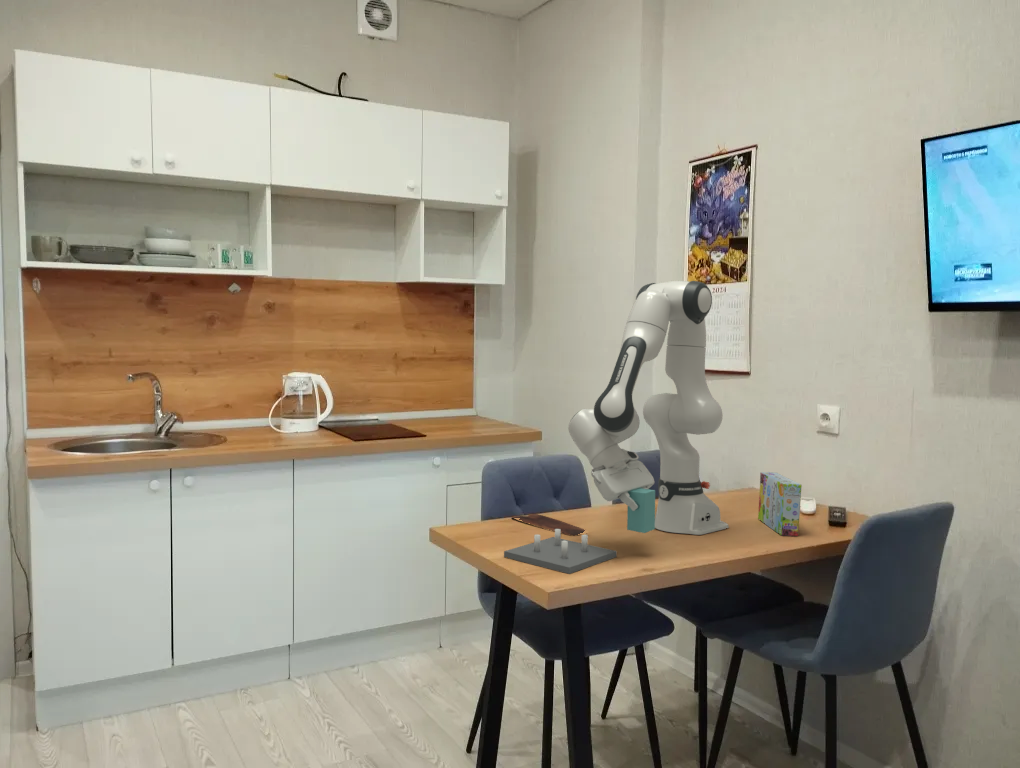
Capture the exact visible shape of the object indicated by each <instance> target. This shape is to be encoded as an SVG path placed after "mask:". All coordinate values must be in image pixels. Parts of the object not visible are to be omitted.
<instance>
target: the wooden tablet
mask: <svg viewBox="0 0 1020 768" xmlns="http://www.w3.org/2000/svg"><path fill="white" fill-rule="evenodd" d="M512 518H520V519H519V520H522V521H523V522H525V523H530V524H532V525H535V526H534V527H536V526H538V527H537V528H539V527H542V528H541V529H543V528H545V529H544V530H546V529H549V530H548V531H550V530H552V531H551V532H554V531H555V529H561V534H562V533H563V534H562V535H566V534H567V535H566V536H571V535H573V537H576V536H575V535H577V536H579V535H578V534H580V533H583V532H584V531H585V530H586V529H585V528H582V527H580V526H575V525H573V524H570V523H568V522H566V521H565V522H564V521H563V520H559V519H557V518H553V517H549V516H546V515H543V514H542V515H541V514H537V513H531V514H528V515H516V516H512V517H511V519H512ZM525 523H524V524H525ZM532 525H531V526H532ZM584 529H585V530H584Z"/></svg>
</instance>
